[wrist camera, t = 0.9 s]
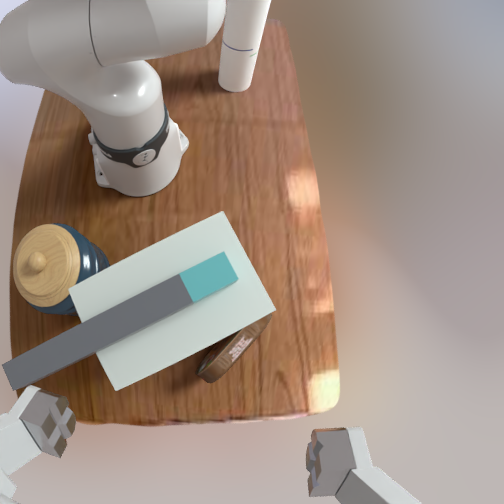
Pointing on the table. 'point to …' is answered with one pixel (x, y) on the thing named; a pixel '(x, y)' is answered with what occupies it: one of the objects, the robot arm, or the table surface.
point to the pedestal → (185, 321)
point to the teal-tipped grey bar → (121, 321)
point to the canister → (55, 266)
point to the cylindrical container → (241, 42)
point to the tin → (230, 350)
